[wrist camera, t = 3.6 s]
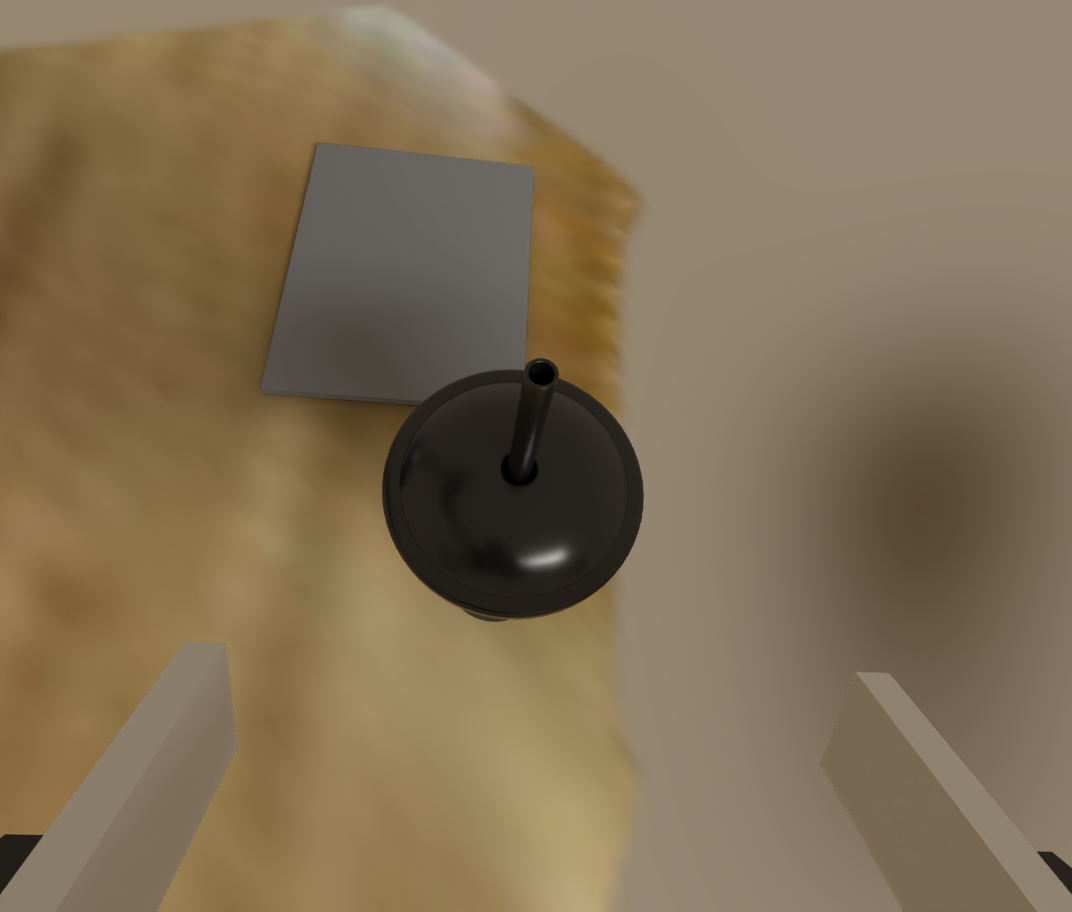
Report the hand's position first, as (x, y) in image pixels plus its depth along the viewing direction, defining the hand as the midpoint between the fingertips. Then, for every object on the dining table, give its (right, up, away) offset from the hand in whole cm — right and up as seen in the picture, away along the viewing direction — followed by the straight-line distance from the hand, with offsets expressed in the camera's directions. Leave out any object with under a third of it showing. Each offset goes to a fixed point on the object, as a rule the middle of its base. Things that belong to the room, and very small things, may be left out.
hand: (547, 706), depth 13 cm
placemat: (-8, +17, +24) cm, 30 cm away
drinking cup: (-2, -1, +17) cm, 18 cm away
